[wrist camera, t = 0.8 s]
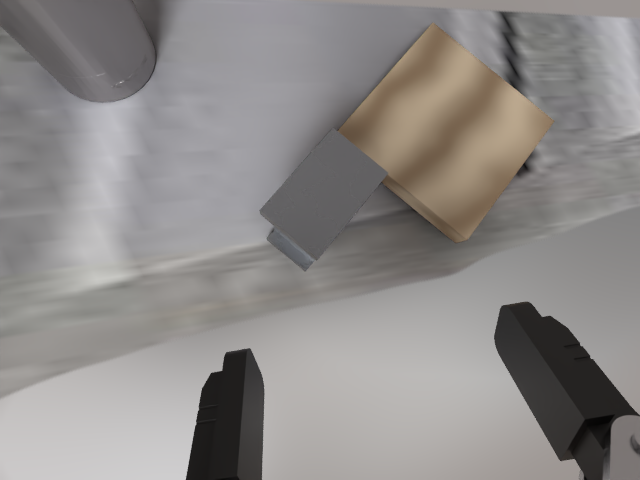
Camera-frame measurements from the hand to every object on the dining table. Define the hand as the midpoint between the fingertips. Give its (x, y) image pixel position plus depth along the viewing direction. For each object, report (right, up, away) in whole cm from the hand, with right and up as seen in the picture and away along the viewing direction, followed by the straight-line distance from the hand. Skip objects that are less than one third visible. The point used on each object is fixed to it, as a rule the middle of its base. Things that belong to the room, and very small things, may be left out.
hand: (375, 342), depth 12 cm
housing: (-3, +4, +22) cm, 23 cm away
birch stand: (+10, +13, +25) cm, 30 cm away
